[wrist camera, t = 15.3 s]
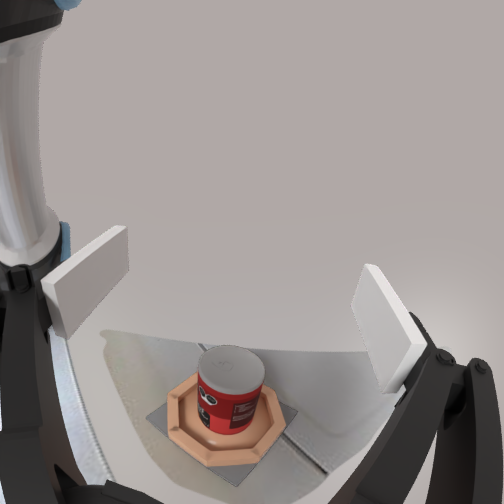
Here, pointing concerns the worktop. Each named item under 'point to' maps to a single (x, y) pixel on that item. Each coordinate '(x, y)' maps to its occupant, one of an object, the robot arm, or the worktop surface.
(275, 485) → the worktop surface
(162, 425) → the mat
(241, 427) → the canned food
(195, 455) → the bowl
